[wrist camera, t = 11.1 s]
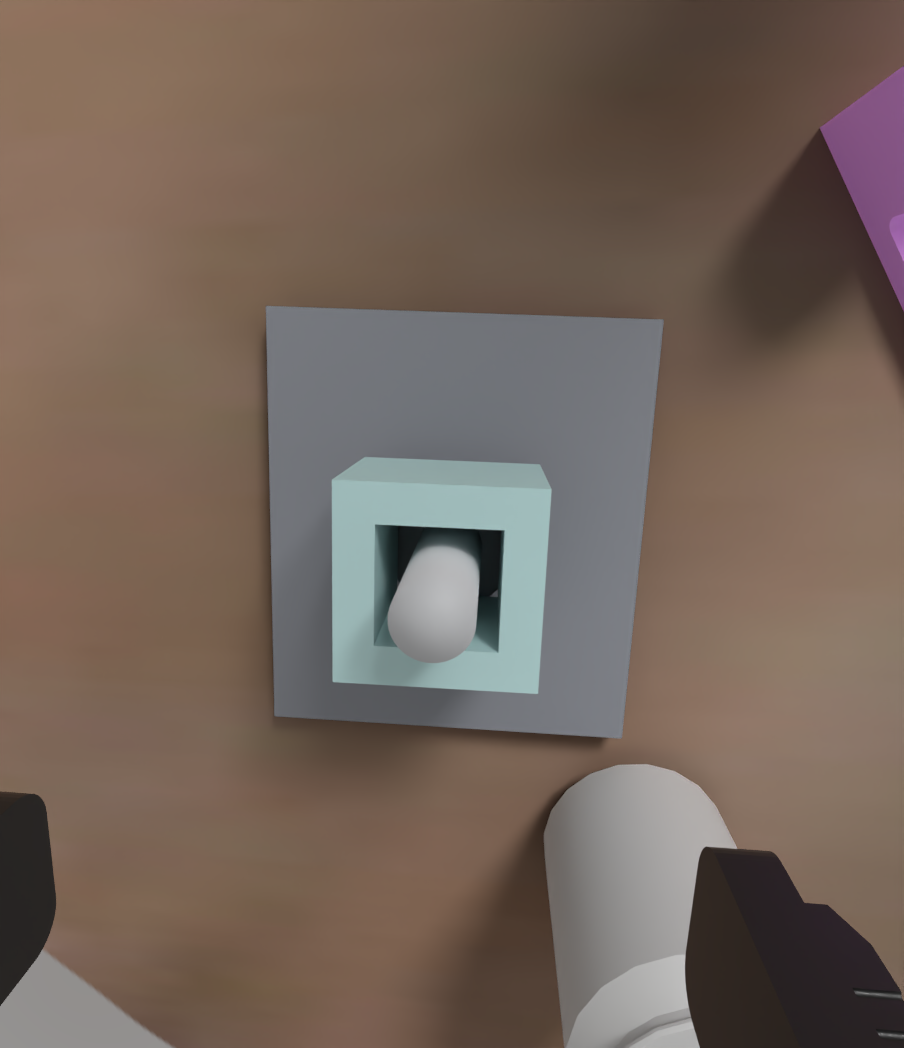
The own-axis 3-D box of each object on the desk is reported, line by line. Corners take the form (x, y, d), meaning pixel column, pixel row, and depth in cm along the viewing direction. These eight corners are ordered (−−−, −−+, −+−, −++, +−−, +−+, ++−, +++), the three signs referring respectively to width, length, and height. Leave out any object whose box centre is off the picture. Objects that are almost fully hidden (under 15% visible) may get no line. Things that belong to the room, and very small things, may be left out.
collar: (364, 457, 24) (331, 479, 19) (539, 464, 24) (551, 489, 19) (363, 621, 25) (332, 682, 20) (529, 630, 25) (537, 693, 20)
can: (509, 799, 30) (519, 1076, 18) (667, 722, 29) (786, 965, 17) (594, 930, 31) (654, 1269, 19) (749, 861, 30) (913, 1177, 18)
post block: (276, 308, 26) (134, 270, 16) (656, 321, 25) (765, 290, 15) (283, 702, 30) (170, 880, 19) (616, 723, 29) (683, 919, 19)
